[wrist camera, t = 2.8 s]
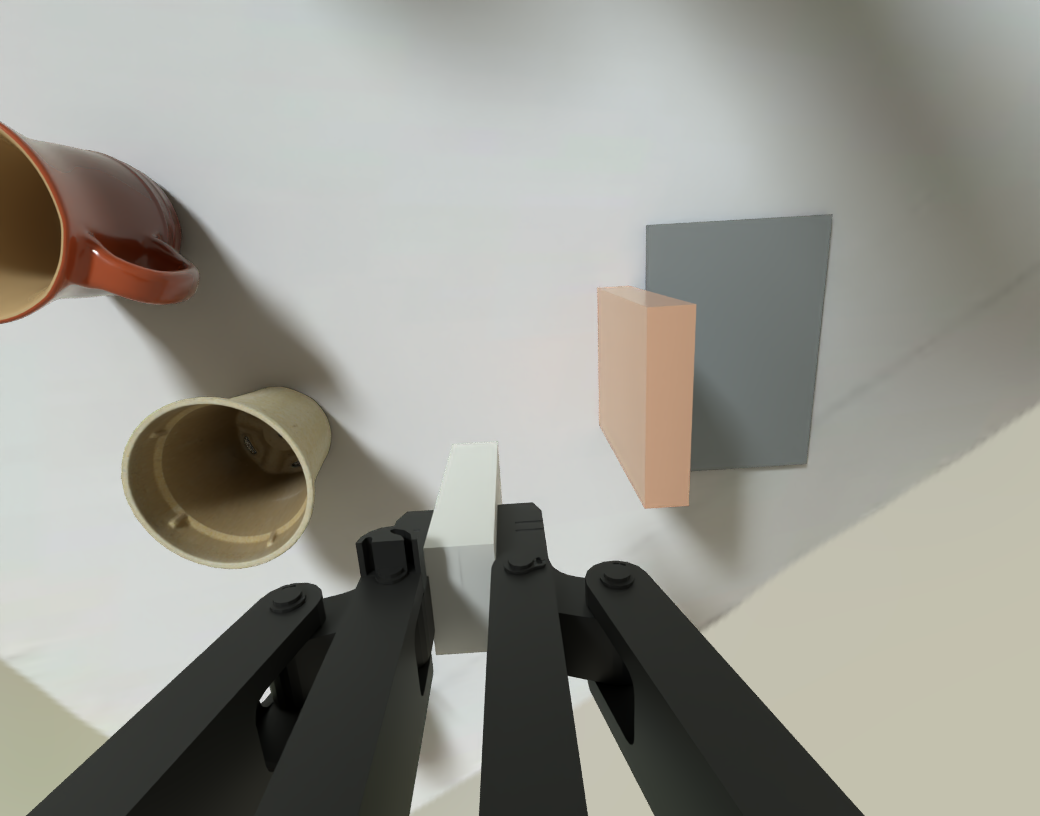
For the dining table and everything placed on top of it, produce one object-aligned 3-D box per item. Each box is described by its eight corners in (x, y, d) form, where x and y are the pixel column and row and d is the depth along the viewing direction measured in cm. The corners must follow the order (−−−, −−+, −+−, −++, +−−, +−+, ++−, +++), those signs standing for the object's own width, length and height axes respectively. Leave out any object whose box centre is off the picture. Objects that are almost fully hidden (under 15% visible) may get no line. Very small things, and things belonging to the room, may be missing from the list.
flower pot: (387, 431, 35) (351, 487, 27) (297, 522, 37) (237, 601, 29) (273, 331, 33) (196, 357, 25) (183, 432, 35) (83, 488, 27)
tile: (597, 287, 33) (647, 307, 21) (631, 285, 33) (700, 304, 21) (599, 425, 36) (644, 508, 24) (631, 423, 36) (691, 505, 24)
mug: (34, 264, 32) (-179, 270, 22) (65, 116, 29) (-155, 49, 20) (232, 348, 33) (118, 388, 24) (275, 214, 31) (170, 197, 21)
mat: (646, 225, 32) (648, 225, 31) (827, 214, 32) (832, 214, 32) (643, 470, 36) (645, 474, 36) (802, 461, 37) (806, 463, 36)
